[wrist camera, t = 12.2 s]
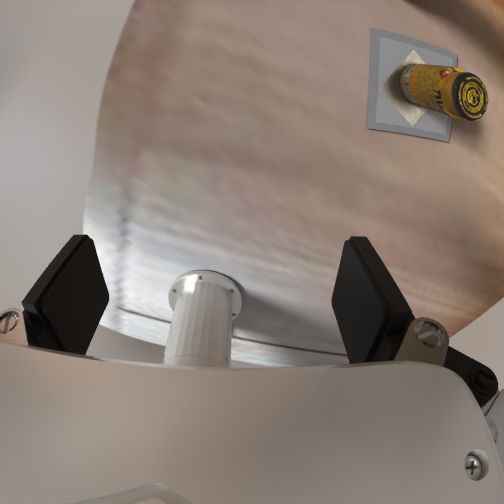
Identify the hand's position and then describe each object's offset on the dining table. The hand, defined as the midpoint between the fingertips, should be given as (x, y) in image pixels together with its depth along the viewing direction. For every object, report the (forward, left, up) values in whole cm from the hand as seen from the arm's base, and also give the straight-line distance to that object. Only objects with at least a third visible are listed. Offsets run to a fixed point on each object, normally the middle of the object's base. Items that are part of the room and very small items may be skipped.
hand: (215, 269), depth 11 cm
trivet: (+8, -24, -29) cm, 39 cm away
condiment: (+7, -23, -29) cm, 38 cm away
